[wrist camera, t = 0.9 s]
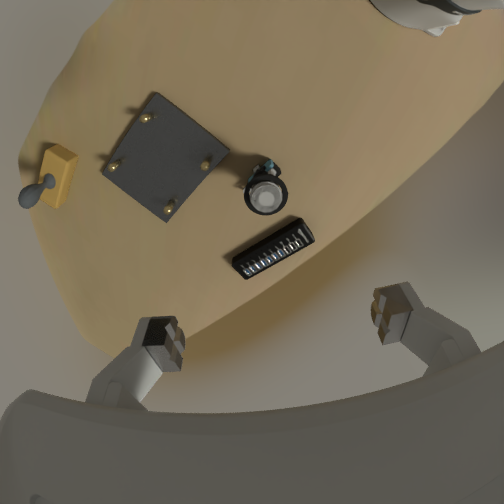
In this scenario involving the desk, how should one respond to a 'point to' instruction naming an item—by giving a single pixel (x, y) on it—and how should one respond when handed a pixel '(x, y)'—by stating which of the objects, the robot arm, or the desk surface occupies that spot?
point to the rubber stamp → (51, 179)
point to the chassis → (164, 158)
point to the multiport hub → (273, 249)
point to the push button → (265, 190)
